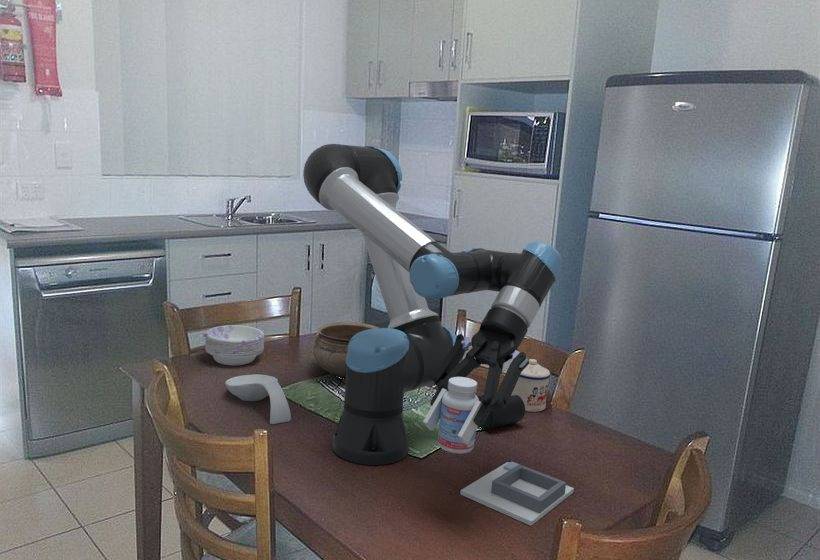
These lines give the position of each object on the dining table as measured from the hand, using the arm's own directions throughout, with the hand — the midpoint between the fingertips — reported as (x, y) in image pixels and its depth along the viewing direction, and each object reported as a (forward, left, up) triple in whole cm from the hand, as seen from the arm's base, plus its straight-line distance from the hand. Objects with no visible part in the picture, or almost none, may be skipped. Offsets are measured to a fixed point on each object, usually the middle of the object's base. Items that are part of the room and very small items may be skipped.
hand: (445, 432), depth 106 cm
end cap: (-14, +41, -15) cm, 46 cm away
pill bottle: (0, +4, -4) cm, 5 cm away
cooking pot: (-58, +39, -15) cm, 72 cm away
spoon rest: (-57, +10, -15) cm, 60 cm away
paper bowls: (-86, +24, -15) cm, 91 cm away
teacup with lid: (-15, +59, -15) cm, 63 cm away
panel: (+5, +17, -15) cm, 24 cm away
